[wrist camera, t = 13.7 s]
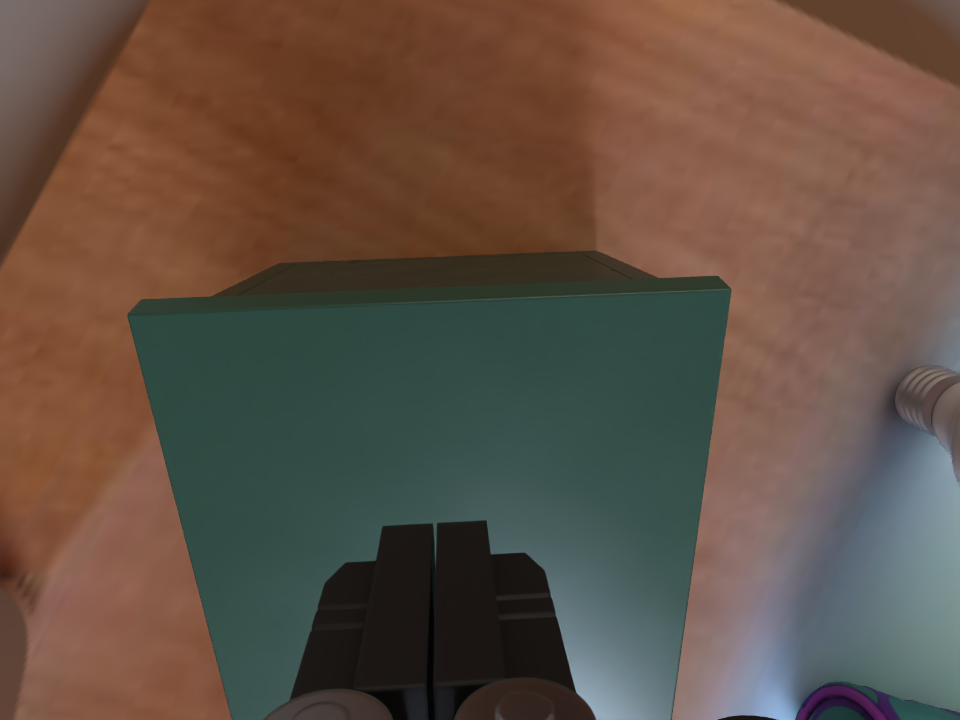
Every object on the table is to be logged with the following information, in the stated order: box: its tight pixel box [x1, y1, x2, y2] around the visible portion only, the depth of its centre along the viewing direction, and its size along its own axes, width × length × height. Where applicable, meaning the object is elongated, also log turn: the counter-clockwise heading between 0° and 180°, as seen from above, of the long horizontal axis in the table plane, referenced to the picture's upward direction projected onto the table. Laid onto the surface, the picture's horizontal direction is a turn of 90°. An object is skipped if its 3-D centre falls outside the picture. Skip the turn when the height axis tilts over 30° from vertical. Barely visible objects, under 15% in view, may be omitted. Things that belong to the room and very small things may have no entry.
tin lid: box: [128, 276, 731, 720], centre depth 19 cm, size 14×13×1 cm
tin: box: [211, 251, 658, 297], centre depth 26 cm, size 14×13×10 cm
